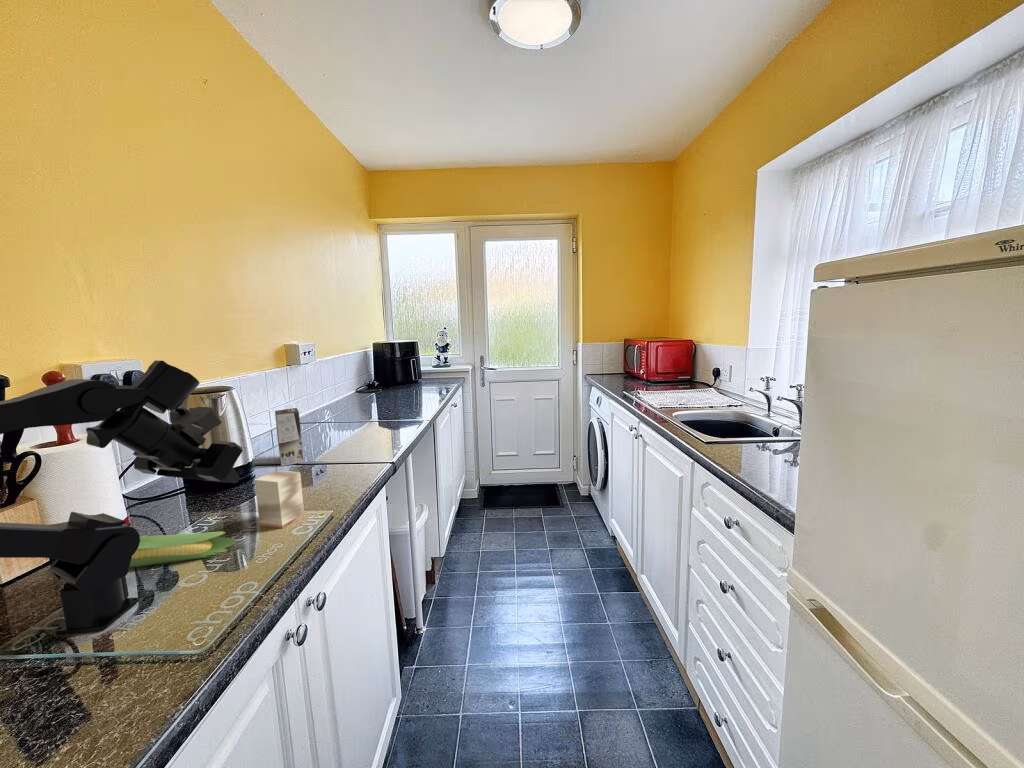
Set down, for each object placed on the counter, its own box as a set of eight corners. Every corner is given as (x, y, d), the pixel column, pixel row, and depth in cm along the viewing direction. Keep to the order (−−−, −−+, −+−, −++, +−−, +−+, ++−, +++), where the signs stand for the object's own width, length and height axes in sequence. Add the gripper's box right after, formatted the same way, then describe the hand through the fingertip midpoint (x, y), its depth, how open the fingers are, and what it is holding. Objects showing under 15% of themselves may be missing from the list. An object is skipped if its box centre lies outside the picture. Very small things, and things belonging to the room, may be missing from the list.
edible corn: (116, 537, 76) (97, 542, 72) (239, 526, 80) (228, 530, 76) (114, 567, 75) (95, 573, 71) (238, 554, 79) (227, 560, 75)
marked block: (282, 528, 87) (277, 482, 85) (259, 525, 88) (254, 479, 87) (304, 515, 92) (300, 472, 91) (282, 513, 94) (278, 470, 93)
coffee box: (304, 462, 130) (299, 411, 128) (280, 466, 127) (275, 414, 125) (302, 455, 138) (297, 407, 136) (279, 459, 135) (274, 409, 133)
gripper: (225, 395, 68) (286, 443, 80) (143, 393, 73) (212, 438, 85) (181, 457, 61) (254, 499, 73) (95, 450, 66) (176, 490, 78)
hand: (224, 479), depth 78 cm, fingers open, 6 cm apart
